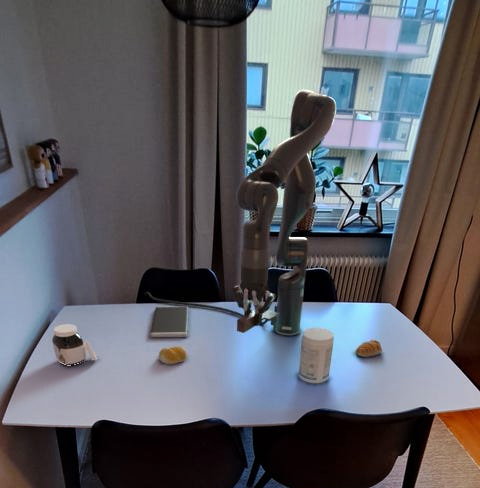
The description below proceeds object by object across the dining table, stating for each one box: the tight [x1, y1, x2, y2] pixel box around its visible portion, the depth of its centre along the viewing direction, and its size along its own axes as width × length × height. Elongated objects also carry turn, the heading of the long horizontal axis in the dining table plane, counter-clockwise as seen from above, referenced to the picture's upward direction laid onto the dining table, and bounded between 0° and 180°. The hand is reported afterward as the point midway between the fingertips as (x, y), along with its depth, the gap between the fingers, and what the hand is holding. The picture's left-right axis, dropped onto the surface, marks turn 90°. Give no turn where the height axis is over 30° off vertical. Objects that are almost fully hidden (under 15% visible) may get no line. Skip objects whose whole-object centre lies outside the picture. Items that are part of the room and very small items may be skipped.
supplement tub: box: [298, 327, 334, 384], centre depth 146 cm, size 10×10×15 cm
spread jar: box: [51, 323, 98, 368], centre depth 153 cm, size 12×11×12 cm
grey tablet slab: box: [150, 306, 189, 338], centre depth 183 cm, size 13×27×2 cm, turn 4°
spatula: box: [236, 309, 280, 334], centre depth 140 cm, size 18×5×3 cm, turn 146°
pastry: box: [355, 339, 383, 358], centre depth 164 cm, size 9×7×4 cm
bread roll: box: [158, 346, 187, 365], centre depth 158 cm, size 8×9×4 cm
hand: (252, 323), depth 139 cm, fingers closed on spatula, 2 cm apart
